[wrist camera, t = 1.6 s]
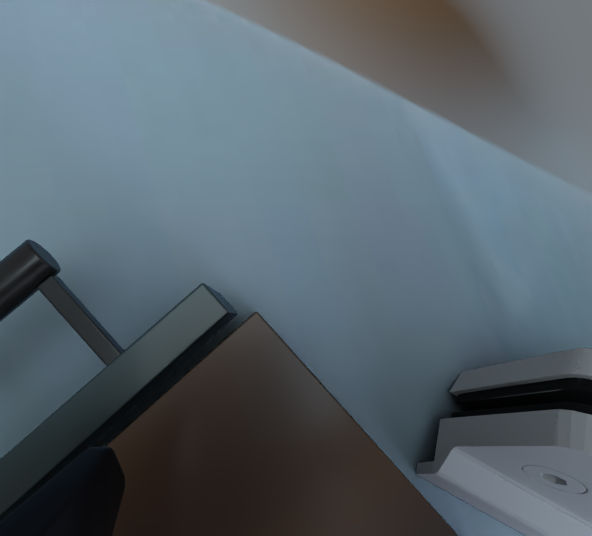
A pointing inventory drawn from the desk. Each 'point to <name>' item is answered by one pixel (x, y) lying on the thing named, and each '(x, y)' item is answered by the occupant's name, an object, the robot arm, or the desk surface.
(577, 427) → the slotted rounded wedge
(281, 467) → the cabinet
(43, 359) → the desk surface
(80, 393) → the drawer
